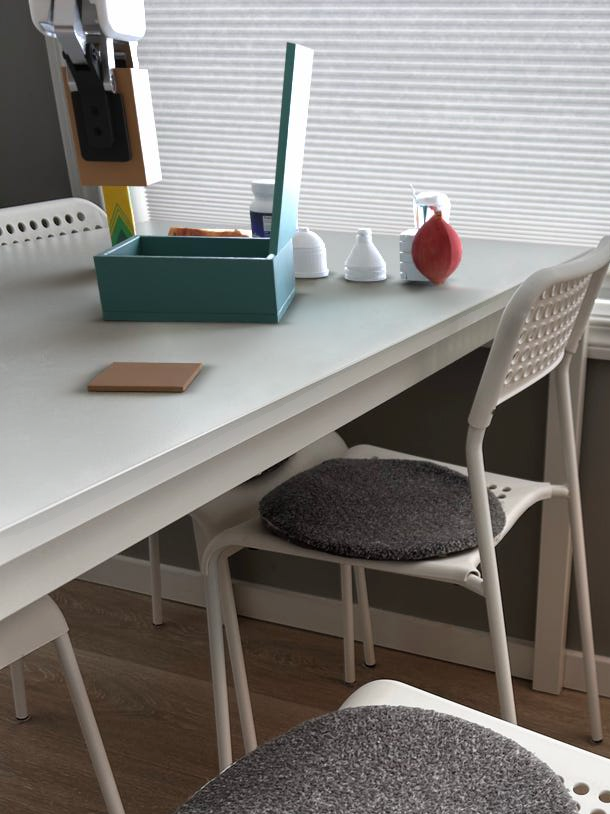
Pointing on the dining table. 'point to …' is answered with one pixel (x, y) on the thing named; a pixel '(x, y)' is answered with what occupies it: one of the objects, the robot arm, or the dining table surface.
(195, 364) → the mat
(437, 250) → the onion
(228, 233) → the bread slice
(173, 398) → the dining table surface
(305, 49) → the lunchbox lid
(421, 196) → the milkshake
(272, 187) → the pill bottle
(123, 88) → the carton
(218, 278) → the box
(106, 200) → the crayon box
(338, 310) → the dining table surface
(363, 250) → the container set
